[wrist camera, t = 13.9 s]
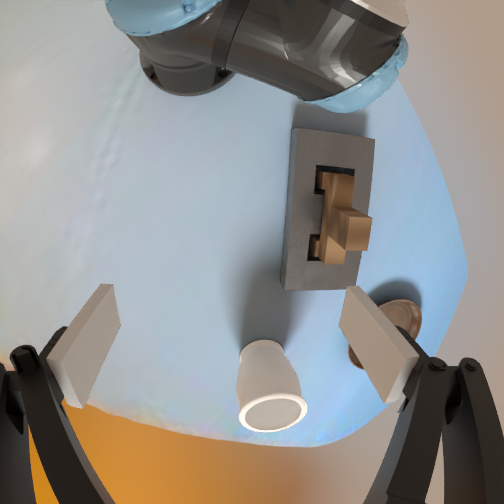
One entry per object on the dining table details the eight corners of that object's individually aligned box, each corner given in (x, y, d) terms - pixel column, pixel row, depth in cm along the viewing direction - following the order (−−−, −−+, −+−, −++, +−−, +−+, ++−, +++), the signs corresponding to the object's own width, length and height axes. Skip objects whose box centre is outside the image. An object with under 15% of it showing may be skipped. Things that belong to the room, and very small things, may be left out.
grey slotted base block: (291, 129, 39) (297, 127, 36) (364, 139, 40) (374, 139, 37) (280, 280, 47) (284, 290, 44) (346, 279, 48) (354, 288, 45)
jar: (278, 325, 50) (296, 385, 36) (295, 362, 54) (314, 419, 40) (224, 346, 51) (226, 408, 37) (246, 380, 54) (253, 439, 40)
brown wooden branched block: (314, 169, 41) (349, 179, 29) (338, 172, 42) (380, 182, 30) (307, 247, 46) (335, 283, 33) (330, 248, 46) (364, 282, 34)
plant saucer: (423, 326, 55) (430, 333, 52) (363, 373, 58) (368, 382, 55) (399, 275, 50) (408, 282, 47) (327, 331, 52) (332, 341, 49)
